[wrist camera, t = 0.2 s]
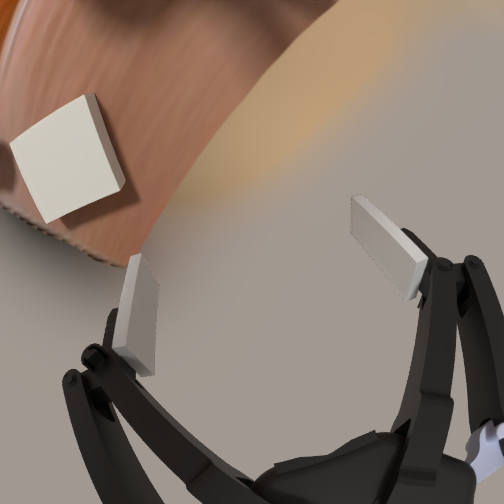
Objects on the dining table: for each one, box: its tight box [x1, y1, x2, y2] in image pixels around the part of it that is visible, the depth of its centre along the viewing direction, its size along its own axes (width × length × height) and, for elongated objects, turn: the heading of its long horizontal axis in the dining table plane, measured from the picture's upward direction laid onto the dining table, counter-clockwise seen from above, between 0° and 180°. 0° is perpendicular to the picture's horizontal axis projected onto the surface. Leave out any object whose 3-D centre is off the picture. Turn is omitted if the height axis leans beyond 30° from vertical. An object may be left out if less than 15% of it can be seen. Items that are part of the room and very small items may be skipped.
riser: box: [10, 93, 126, 224], centre depth 33 cm, size 16×16×4 cm
